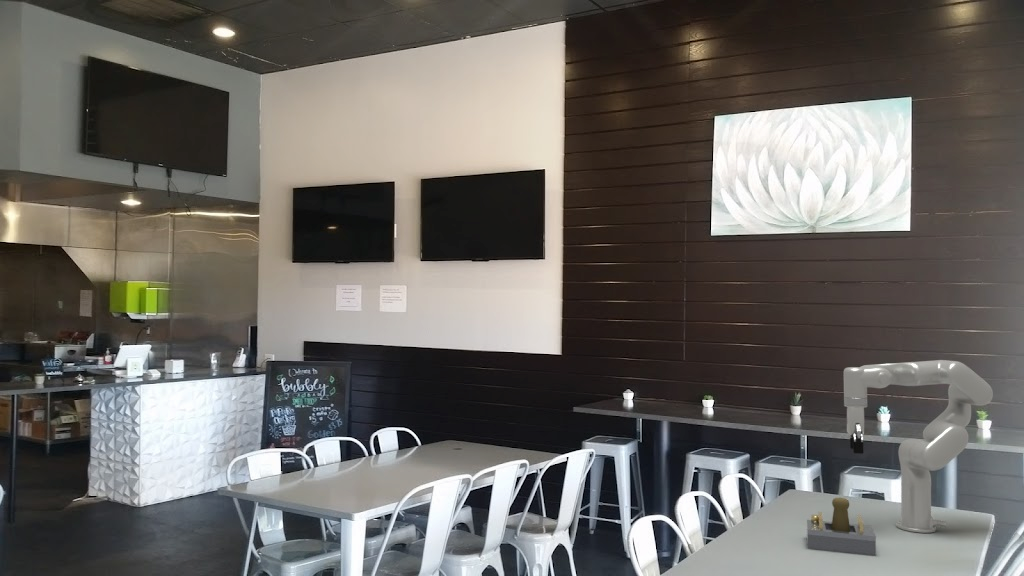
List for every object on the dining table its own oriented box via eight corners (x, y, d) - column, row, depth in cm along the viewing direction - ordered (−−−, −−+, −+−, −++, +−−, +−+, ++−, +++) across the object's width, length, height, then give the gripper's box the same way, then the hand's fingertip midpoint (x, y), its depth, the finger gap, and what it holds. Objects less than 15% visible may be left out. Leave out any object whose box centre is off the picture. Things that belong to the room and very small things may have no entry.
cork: (848, 530, 264) (848, 496, 265) (852, 535, 258) (852, 500, 259) (829, 529, 265) (829, 495, 266) (832, 533, 259) (832, 499, 260)
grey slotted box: (871, 544, 265) (871, 514, 265) (875, 555, 252) (875, 525, 252) (806, 537, 271) (807, 509, 272) (807, 548, 258) (807, 518, 258)
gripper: (841, 399, 294) (842, 446, 293) (846, 404, 277) (847, 454, 277) (864, 400, 291) (865, 447, 291) (870, 405, 275) (871, 455, 274)
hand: (856, 450), depth 284 cm, fingers open, 9 cm apart
